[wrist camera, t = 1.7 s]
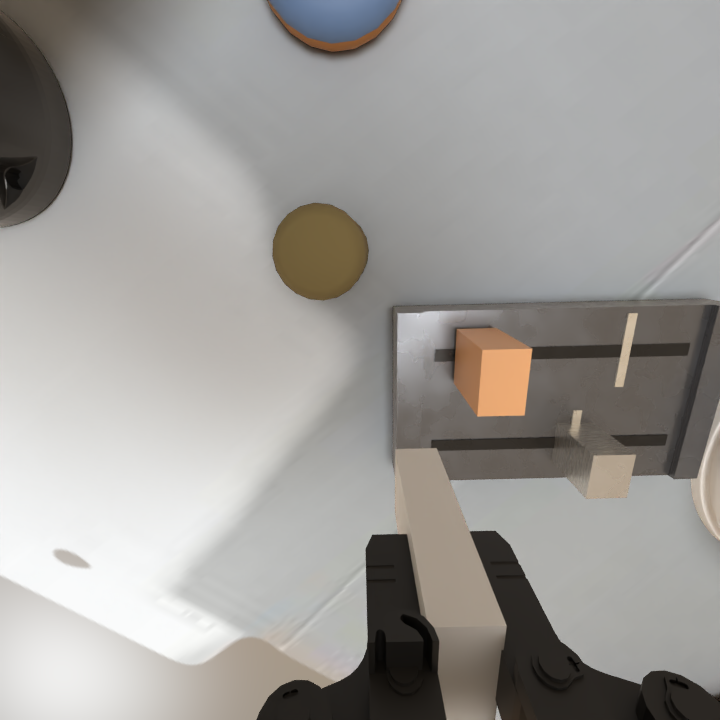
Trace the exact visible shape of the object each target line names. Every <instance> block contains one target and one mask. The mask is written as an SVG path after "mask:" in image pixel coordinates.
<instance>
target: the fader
mask: <svg viewBox="0 0 720 720" xmlns="http://www.w3.org/2000/svg"><path fill="white" fill-rule="evenodd" d="M531 356H532V348H530V347H529V346H527V345H525V344H523V343H522V342H520V341H518V340H516V339H515V338H513V337H511V336H509V335H508V334H506V333H504V332H502V331H501V330H499V329H497V328H473V329H457V332H456V350H455V368H454V384H455V386H456V387H457V389H458V390H459V391H460V393H461V394H462V396H463V397H464V398H465V400H466V401H467V403H468V404H469V406H470V407H471V408H472V410H473V411H474V413H475V414H476V415H477V417H480V416H522V415H525V407H526V399H527V390H528V382H529V373H530V365H531Z"/></svg>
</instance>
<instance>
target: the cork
mask: <svg viewBox="0 0 720 720" xmlns="http://www.w3.org/2000/svg"><path fill="white" fill-rule="evenodd" d="M368 251H369V249H368V244H367V239H366V236H365V234H364V233H363V231H362V229H361V227H360V226H359V225H358V224H357V223H356V222H355V221H354V220H353V219H352V218H351V217H350V216H349V215H348V214H347V213H346V212H344V211H343V210H341V209H338V208H336V207H334V206H332V205H330V204H321V203H312V204H308V205H304V206H300V207H298V208H297V209H295V210H294V211H292V212H291V213H289V214H287V216H286V217H285V218H284V220H283V221H282V222H281V223H280V225H279V226H278V228H277V231H276V234H275V237H274V239H273V260H274V263H275V267H276V271H277V272H278V274H279V275H280V277H281V279H282V280H283V282H284V283H285V284H286V285H287V286H288V287H289V288H290V289H291V290H293V291H294V292H295V293H296V294H299V295H301V296H303V297H306V298H308V299H314V300H327V299H332V298H337V297H338V296H340V295H342V294H344V293H345V292H347V291H349V290H350V289H351V287H352V286H353V285H354V284H355V283H356V282H357V281H358V279H359V277H360V275H361V274H362V273H363V271H364V268H365V266H366V264H367V260H368Z"/></svg>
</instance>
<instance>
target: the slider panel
mask: <svg viewBox="0 0 720 720" xmlns="http://www.w3.org/2000/svg"><path fill="white" fill-rule="evenodd" d="M473 328H497V329H499V330H501V331H502V332H504V333H506V334H508V335H509V336H511V337H513V338H515V339H516V340H518V341H520V342H522V343H523V344H525V345H527V346H529V347H530V348H532V356H531V365H530V373H529V382H528V390H527V399H526V407H525V415H522V416H480V417H477V415H476V414H475V413H474V411H473V410H472V408H471V407H470V406H469V404H468V403H467V401H466V400H465V398H464V397H463V396H462V394H461V393H460V391H459V390H458V389H457V387H456V386H455V384H454V368H455V350H456V332H457V329H473ZM719 399H720V301H715V300H708V299H670V300H629V301H588V302H547V303H505V304H464V305H423V306H393V468H394V474H395V449H420V448H437V450H438V453H439V455H440V458H441V460H442V463H443V466H444V468H445V471H446V473H447V476H448V478H449V480H476V479H518V478H560V477H567V479H568V480H569V481H570V482H571V483H572V484H573V485H574V486H575V487H576V488H577V489H578V491H579V492H580V493H581V494H582V495H583V496H584V497H585V498H586V499H591V498H627V494H628V489H629V485H630V480H631V476H643V475H669V476H670V477H672V478H673V479H695V478H697V476H698V473H699V469H700V466H701V462H702V459H703V455H704V452H705V448H706V445H707V441H708V438H709V434H710V431H711V427H712V424H713V420H714V417H715V413H716V410H717V406H718V403H719Z"/></svg>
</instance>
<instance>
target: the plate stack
mask: <svg viewBox="0 0 720 720" xmlns="http://www.w3.org/2000/svg"><path fill="white" fill-rule="evenodd" d="M691 490H692V496H693V501H694V504H695V507H696V510H697V513H698V515H699V517H700V519H701V520H702V522H703V524H704V525H705V527H706V528H707V529H708V530H709V532H710V533H711V534H712V535H713V536H714V537H715V538H716V539H718V540H719V541H720V400H719V403H718V406H717V410H716V413H715V417H714V420H713V424H712V427H711V431H710V434H709V438H708V441H707V445H706V448H705V452H704V455H703V459H702V462H701V466H700V469H699V473H698V476H697V478H695V479H691Z"/></svg>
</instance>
